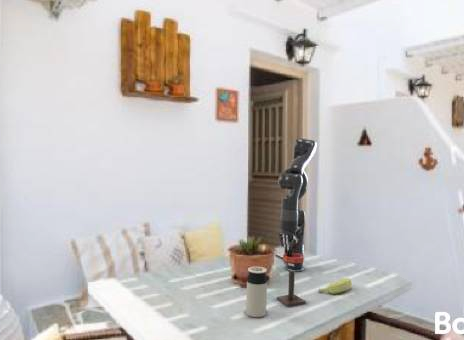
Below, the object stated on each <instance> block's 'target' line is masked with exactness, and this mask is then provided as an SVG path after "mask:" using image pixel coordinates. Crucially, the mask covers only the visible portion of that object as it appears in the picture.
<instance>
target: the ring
mask: <svg viewBox="0 0 464 340" xmlns="http://www.w3.org/2000/svg"><path fill="white" fill-rule="evenodd" d="M284 253H285V252H284ZM284 253H283V255H282V257H283V259H282V261H284V262H285V261H286V262H289V263H302V262H303V263H304V261H305V255H304V254H303V255H301V254H298V253H292V257H288V256H287V253H285V254H284Z"/></svg>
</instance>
